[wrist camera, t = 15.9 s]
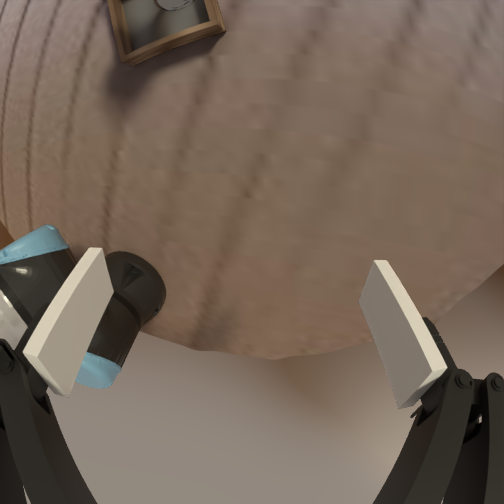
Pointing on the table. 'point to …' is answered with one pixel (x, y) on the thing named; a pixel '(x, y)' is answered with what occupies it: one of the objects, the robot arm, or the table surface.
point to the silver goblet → (172, 4)
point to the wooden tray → (160, 27)
